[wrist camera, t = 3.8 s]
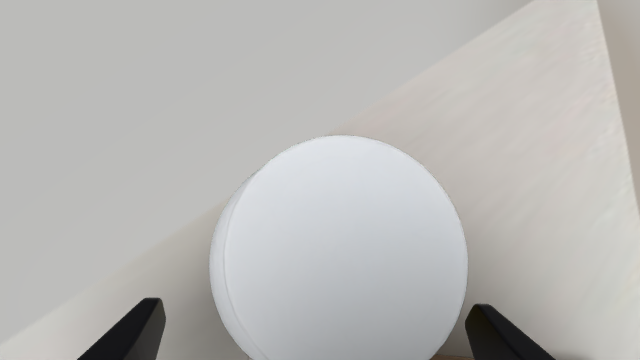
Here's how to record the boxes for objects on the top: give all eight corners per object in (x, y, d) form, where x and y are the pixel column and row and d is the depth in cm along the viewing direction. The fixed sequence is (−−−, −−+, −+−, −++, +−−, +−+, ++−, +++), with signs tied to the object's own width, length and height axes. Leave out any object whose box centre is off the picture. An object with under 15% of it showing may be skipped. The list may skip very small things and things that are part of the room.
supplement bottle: (380, 242, 19) (568, 201, 7) (323, 347, 17) (435, 566, 5) (287, 183, 19) (299, 35, 7) (220, 280, 17) (71, 318, 5)
